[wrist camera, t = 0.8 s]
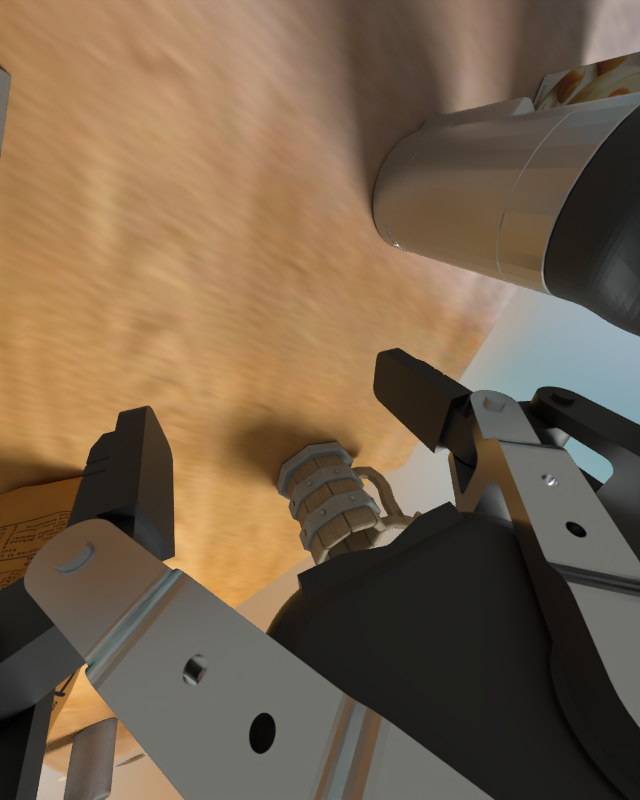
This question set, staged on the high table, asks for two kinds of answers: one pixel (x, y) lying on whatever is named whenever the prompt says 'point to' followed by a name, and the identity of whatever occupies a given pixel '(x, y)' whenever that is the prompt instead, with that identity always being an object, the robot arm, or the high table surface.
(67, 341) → the high table surface
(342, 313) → the high table surface
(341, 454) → the tankard
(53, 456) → the high table surface
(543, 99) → the coffee box
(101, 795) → the pillar candle
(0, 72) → the collar
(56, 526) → the coffee package
